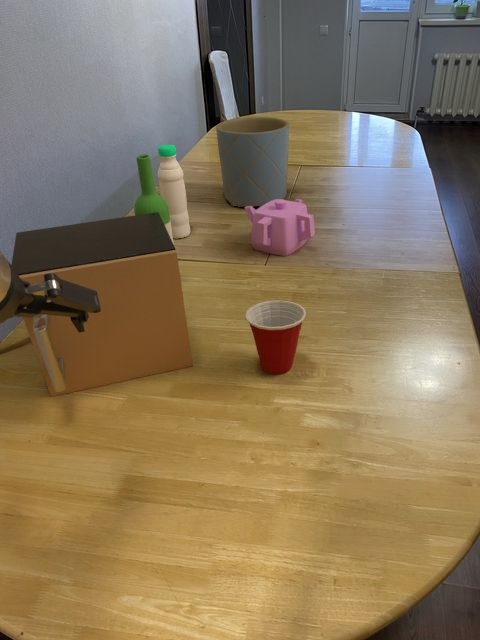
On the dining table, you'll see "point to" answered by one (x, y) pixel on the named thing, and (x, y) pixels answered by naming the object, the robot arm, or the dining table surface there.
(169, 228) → the wine bottle
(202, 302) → the dining table surface
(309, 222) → the teakettle
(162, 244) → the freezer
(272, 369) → the plastic cup
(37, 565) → the dining table surface
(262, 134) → the planter
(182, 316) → the freezer door
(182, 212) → the water bottle
